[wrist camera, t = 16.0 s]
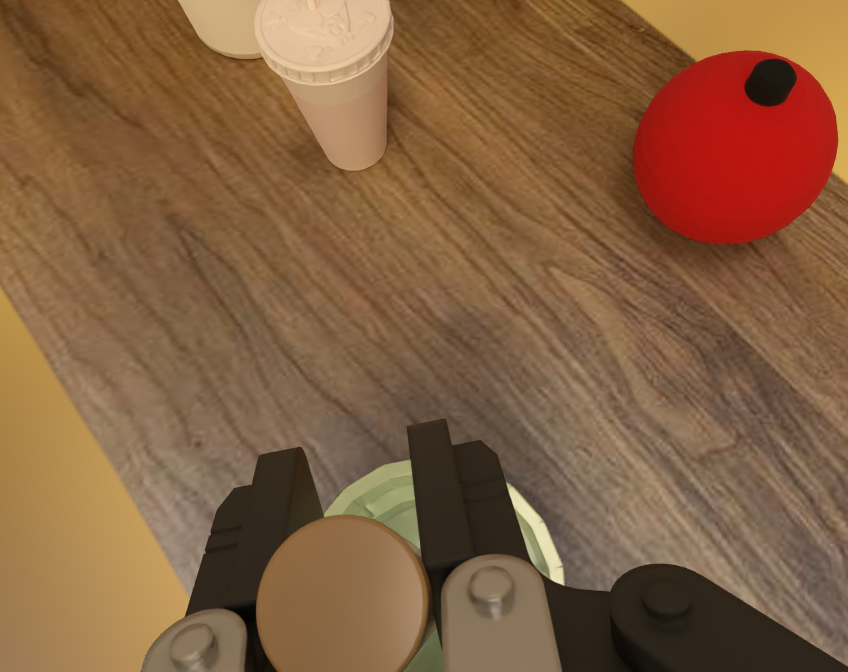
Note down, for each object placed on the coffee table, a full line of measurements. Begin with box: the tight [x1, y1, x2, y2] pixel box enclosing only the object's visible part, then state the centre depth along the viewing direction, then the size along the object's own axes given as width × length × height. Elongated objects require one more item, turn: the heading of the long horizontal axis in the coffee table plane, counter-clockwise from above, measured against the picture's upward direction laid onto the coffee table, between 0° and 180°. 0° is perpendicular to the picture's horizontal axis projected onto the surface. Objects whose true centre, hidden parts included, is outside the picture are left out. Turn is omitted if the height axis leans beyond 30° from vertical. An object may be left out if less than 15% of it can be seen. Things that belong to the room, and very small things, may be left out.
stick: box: [256, 515, 436, 672], centre depth 15 cm, size 2×2×15 cm
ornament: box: [633, 51, 838, 244], centre depth 32 cm, size 9×9×10 cm
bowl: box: [323, 460, 565, 672], centre depth 28 cm, size 10×10×6 cm
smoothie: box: [254, 0, 394, 171], centre depth 33 cm, size 6×6×14 cm
